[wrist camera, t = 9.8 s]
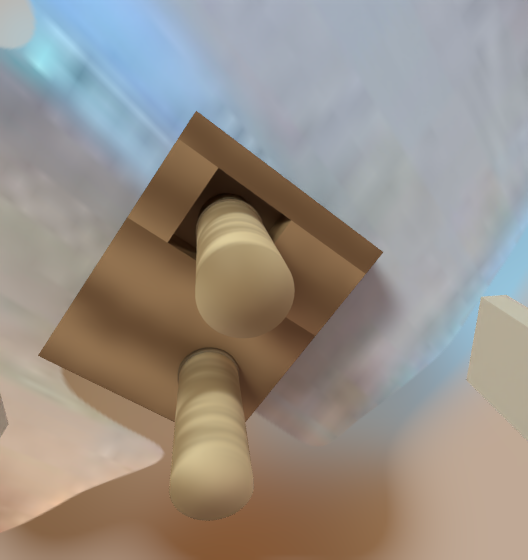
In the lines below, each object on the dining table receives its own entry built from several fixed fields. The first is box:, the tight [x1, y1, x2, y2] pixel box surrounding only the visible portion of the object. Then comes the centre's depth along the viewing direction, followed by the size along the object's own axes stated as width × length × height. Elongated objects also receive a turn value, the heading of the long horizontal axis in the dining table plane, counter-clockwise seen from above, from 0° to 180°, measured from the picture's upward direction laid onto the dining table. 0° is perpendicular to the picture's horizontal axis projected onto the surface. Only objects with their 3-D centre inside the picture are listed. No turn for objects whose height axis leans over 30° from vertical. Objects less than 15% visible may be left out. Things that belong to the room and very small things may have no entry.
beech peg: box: [195, 193, 295, 338], centre depth 26 cm, size 5×5×14 cm
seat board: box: [38, 111, 383, 521], centre depth 29 cm, size 20×16×17 cm
